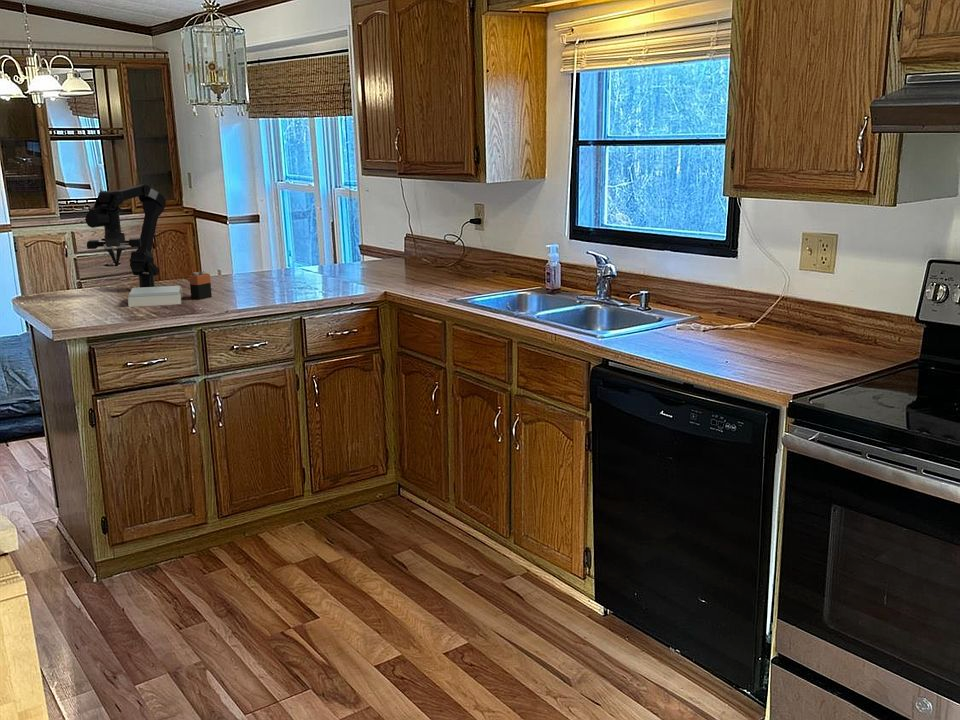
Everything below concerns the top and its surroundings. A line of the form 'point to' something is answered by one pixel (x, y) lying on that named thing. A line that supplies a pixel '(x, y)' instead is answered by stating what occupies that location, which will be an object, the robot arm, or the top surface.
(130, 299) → the white slat
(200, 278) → the battery
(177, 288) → the cover
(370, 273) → the top surface
